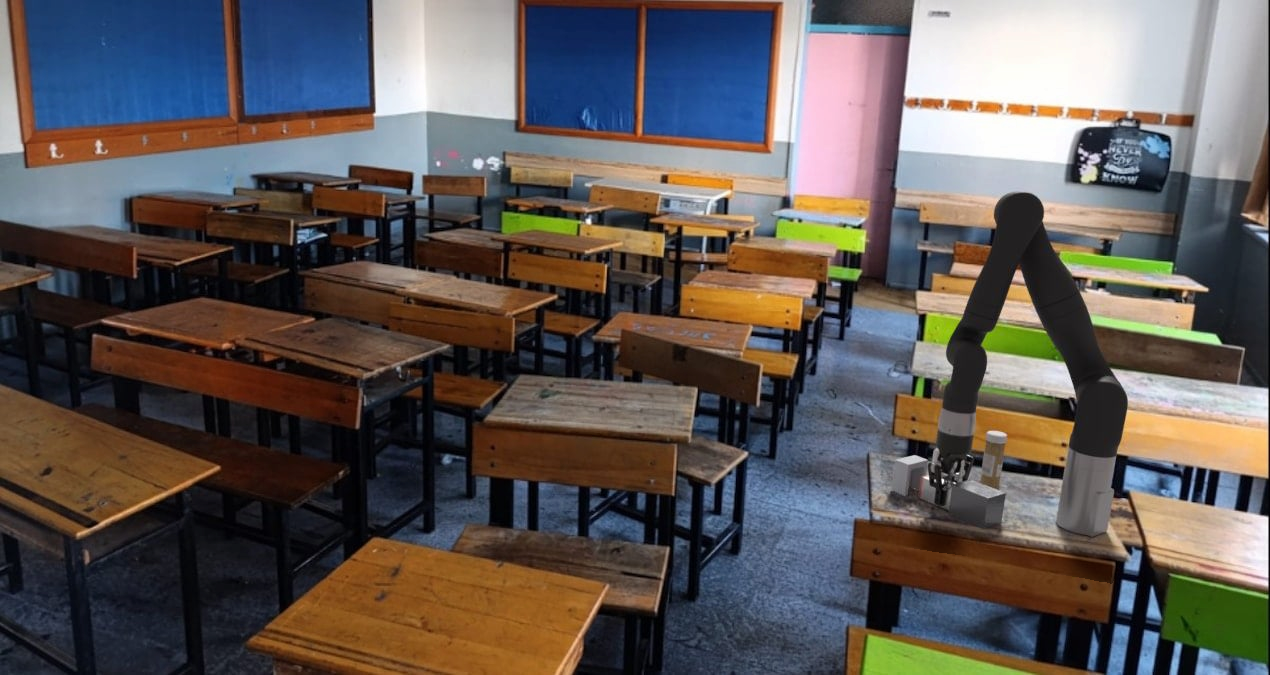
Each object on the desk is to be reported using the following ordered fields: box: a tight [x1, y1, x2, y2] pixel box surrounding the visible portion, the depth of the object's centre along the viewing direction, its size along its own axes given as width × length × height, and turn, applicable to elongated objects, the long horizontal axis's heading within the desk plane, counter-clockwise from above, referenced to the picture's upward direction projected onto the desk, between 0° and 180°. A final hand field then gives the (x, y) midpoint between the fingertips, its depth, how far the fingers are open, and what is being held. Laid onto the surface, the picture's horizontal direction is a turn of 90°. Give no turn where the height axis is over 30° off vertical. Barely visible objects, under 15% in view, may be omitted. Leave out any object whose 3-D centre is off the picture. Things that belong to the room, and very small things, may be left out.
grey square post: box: [918, 474, 956, 511], centre depth 209 cm, size 16×4×5 cm, turn 36°
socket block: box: [891, 454, 929, 497], centre depth 218 cm, size 4×7×8 cm, turn 126°
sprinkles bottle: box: [979, 430, 1008, 490], centre depth 223 cm, size 5×5×14 cm
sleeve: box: [947, 479, 1007, 530], centre depth 204 cm, size 9×6×7 cm
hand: (945, 502), depth 211 cm, fingers closed on grey square post, 4 cm apart
